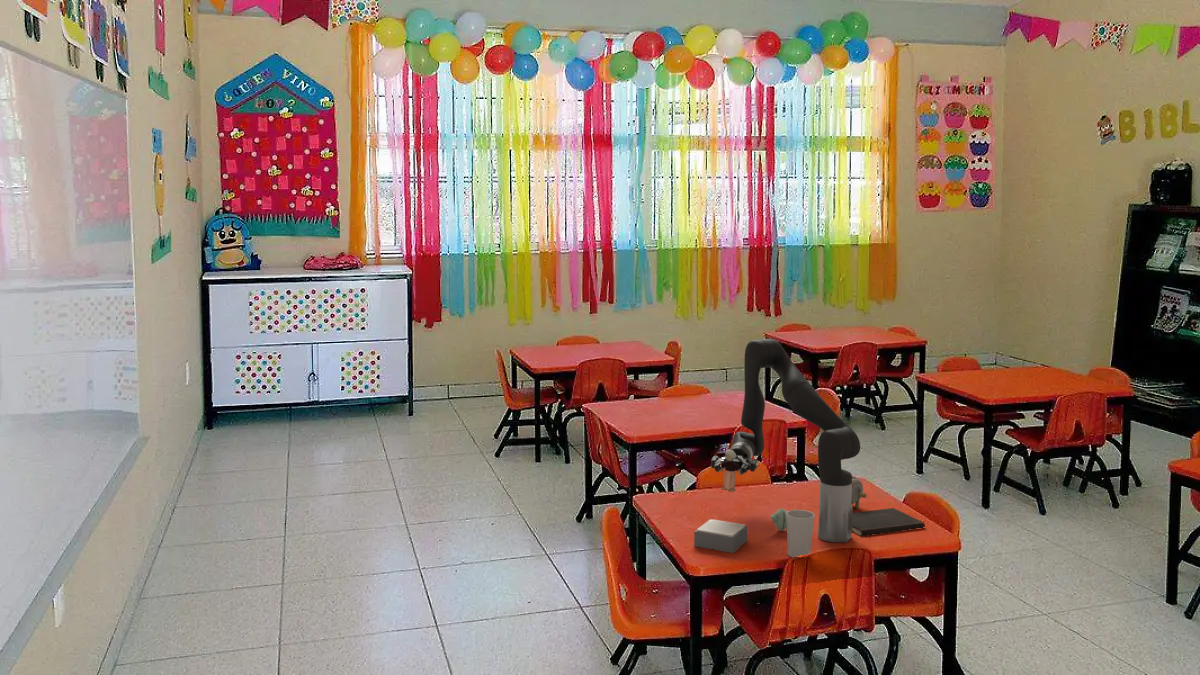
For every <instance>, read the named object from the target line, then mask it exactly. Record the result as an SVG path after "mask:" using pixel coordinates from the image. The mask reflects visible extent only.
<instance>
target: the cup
mask: <svg viewBox="0 0 1200 675" xmlns="http://www.w3.org/2000/svg"><path fill="white" fill-rule="evenodd" d="M815 515H816V514H815V513H814V512H812V511H810V510H805V509H791V510H787V513H786V518H787V528H786V531H787V556H789V557H791V558H794V557H796V556H800V555H805V554H809V553H810V554H811V549H812V548H811V547H812V541H813V540H812V539H813V531H814V524H815Z"/></svg>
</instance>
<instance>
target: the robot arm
mask: <svg viewBox="0 0 1200 675" xmlns="http://www.w3.org/2000/svg"><path fill="white" fill-rule="evenodd" d="M743 360H744V361H743V362H744V363H743V364H744V395H743V396H744V398H743V406H742V410H741V411H742V412H741V417H740V423H741V425H742V427H744V428H746V429H748V430H750V431H752V433H750V432H745V431H737V432H736V433H735V434H734V435H733V437H732V443H731V445H732V446H730V448H729V449H728V450H733V451H734V452H735V454H736V456H737V457H735V458H734V460H733V461H734V462H735V463H736V464H738V466H739V467H740V468H741V469H740V470H741V474H742V475H745V474H746V473H747V472H749V471H750V472H755V471H756V469H757V468H758V465H759V464H758V460H759V459H758V458H753V457H759V456H761V455H762V454H763V453H764V450H765V439H764V434H763V433H764V431H763V430H764V429H763V422H764V415H765V410H766V402H765V397H764V394H763V391H762V388H761V386H760V383H759V381H760V379H759V377H760V371H761V369H763V368H770V369H772V370H773V371H775V373H776V374H777V375H778V376H779V379H780V380H781V392H782V397H783V399H784V401H785V402H786V404H787V405H788V406H789V407H790V408H791V409H792V410H793V413H796V414H797V415H798V416H799V417H800V418H802V419H803V420H806V421H807V422H810V423H811V424H813V425H815V426H816V427H819V428H820V429H821V430H822V432H821V433H820V435H819V438H818V442H817V443H818V444H817V461H818V462H817V466H818V469H817V470H818V473H819V475H820V476H819V477H820V480H819V483H820V484H819V503H818V504H819V505H818V528H817V537H818V538H819V539H820V540H822V541H826V542H830V543H848V542H849V540H850V539H851V538H852V532H853V531H852V513H854V511H853V509H854V508H853V506H852V505H851V492H852V476H853V474H852V473H851V472H850V471H848V470H846V469H842V460H848V459H851V458H854V457H855V458H856V456H858V455H859V454H860V452H861V442H860V438H859V437H858V435H857V433H856V432H855V430H854V429H853V428H852V427H850V425H848V423H847V422H845V420H843V419H842V418H841V417H840V416H839V415H838V414H837V413H836V412H835V411H834V410H833V409H832V407H830V405H829V404H828V403H827V402H826V401H825V400H824V398H822V396H820V394H819V393H818V391H817V390H816V389H815V387H814V386H813V385H812V384H811V382H809V381H808V380H807V378H806V377H805V376H804V375H803V374H802V373H801V372H800V370H799V369H798V367H797V366H796V365H795V364H794V362H793V361H792V360H791V358H790V356H789V355H788V353H787V352H786V350H785V349H784V348H783V346H782V344H780V342H778V341H777V340H776V339H773V338H765V339H763V338H762V339H753V340H749V341H748V342H747V345H746V347H745V350H744V359H743ZM726 460H727V459H726V454H724V456H723V457H721V458H720V457H719V455H714V456H712V458H711V460H710V462H711V463H710V464H711V466H710V467H711V469H714V471H715V472H717V473H718V472H720V469H721V465H722V464H723V462H724V461H726ZM723 470H725V468H724V469H723ZM735 472H738V471H737V470H735Z"/></svg>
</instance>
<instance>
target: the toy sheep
mask: <svg viewBox="0 0 1200 675" xmlns="http://www.w3.org/2000/svg"><path fill="white" fill-rule="evenodd" d="M862 498H863V499H865V498H867V494H866V493H865V492H864V486H863V482H862V481H861V480H859V479H858V478H857V477H856V476H854V475H852V492H851V506H852V505H853V504H855V509H859V508H860V499H862Z"/></svg>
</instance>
